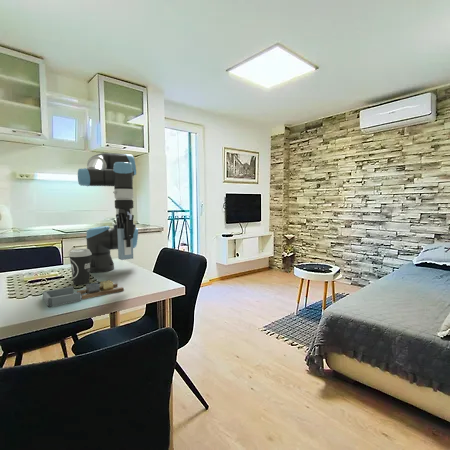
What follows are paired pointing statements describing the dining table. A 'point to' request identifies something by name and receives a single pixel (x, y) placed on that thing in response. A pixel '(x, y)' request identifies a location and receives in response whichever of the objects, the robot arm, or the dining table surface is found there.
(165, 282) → the dining table surface
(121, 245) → the blue grey rectangular box
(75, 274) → the coffee cup
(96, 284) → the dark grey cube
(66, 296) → the tray
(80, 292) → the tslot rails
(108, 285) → the chip brass
